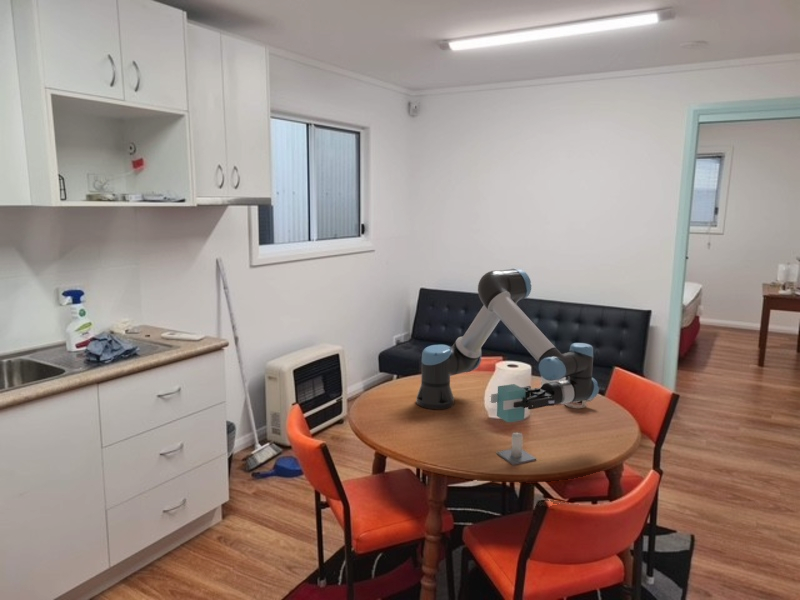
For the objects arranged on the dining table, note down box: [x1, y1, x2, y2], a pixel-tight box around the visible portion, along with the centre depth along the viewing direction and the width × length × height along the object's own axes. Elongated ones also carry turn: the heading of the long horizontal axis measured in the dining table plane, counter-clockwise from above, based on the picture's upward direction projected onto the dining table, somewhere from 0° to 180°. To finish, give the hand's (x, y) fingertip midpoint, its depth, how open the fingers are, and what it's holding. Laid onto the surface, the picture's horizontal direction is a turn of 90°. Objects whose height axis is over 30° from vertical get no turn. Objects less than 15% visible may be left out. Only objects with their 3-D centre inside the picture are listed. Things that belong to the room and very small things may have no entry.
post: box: [496, 432, 537, 466], centre depth 183 cm, size 9×9×8 cm
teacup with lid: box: [564, 397, 595, 409], centre depth 230 cm, size 12×9×12 cm
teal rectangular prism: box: [496, 383, 526, 424], centre depth 181 cm, size 6×6×10 cm
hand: (497, 402), depth 179 cm, fingers closed on teal rectangular prism, 6 cm apart
